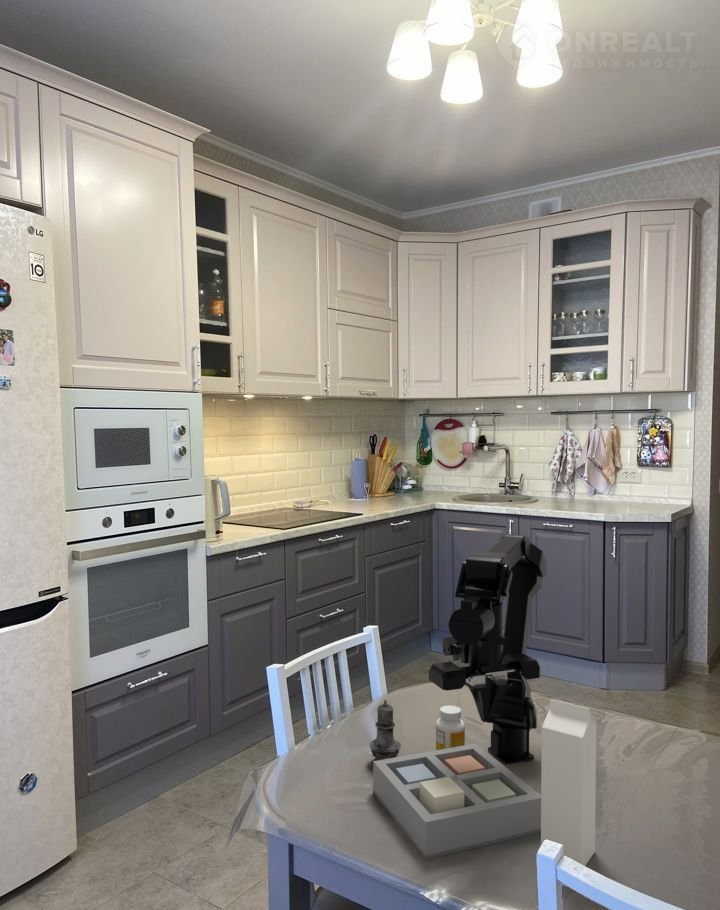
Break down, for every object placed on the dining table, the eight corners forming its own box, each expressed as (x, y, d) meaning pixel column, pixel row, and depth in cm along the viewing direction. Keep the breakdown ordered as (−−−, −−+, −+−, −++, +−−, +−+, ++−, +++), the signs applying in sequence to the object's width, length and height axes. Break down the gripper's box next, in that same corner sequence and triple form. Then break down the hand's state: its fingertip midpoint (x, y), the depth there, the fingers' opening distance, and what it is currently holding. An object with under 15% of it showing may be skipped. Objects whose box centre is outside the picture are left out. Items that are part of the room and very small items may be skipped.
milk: (555, 838, 103) (556, 692, 103) (595, 852, 100) (597, 701, 100) (539, 857, 99) (541, 704, 98) (581, 873, 95) (583, 714, 95)
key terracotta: (469, 778, 120) (470, 755, 120) (484, 792, 115) (485, 767, 115) (444, 783, 118) (444, 759, 118) (458, 798, 113) (458, 772, 113)
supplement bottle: (466, 756, 130) (467, 705, 130) (461, 769, 125) (462, 716, 125) (439, 752, 132) (439, 702, 132) (432, 764, 127) (433, 712, 127)
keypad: (475, 773, 124) (476, 743, 123) (542, 832, 105) (543, 797, 105) (373, 792, 116) (373, 761, 116) (425, 859, 98) (425, 822, 98)
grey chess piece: (398, 773, 124) (398, 707, 123) (366, 769, 125) (366, 704, 125) (402, 758, 129) (403, 695, 129) (372, 755, 130) (372, 692, 130)
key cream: (448, 803, 108) (448, 776, 108) (464, 819, 103) (464, 791, 103) (419, 808, 106) (419, 782, 106) (434, 825, 101) (434, 797, 101)
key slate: (422, 788, 117) (422, 763, 116) (436, 802, 112) (436, 777, 112) (395, 793, 115) (395, 768, 115) (408, 808, 110) (408, 782, 110)
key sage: (498, 805, 111) (498, 779, 111) (516, 820, 107) (516, 794, 106) (471, 810, 109) (471, 784, 109) (488, 827, 105) (488, 799, 105)
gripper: (506, 613, 127) (505, 697, 127) (414, 622, 120) (414, 711, 120) (542, 629, 116) (541, 720, 116) (444, 639, 109) (444, 736, 110)
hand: (484, 721), depth 116 cm, fingers closed
